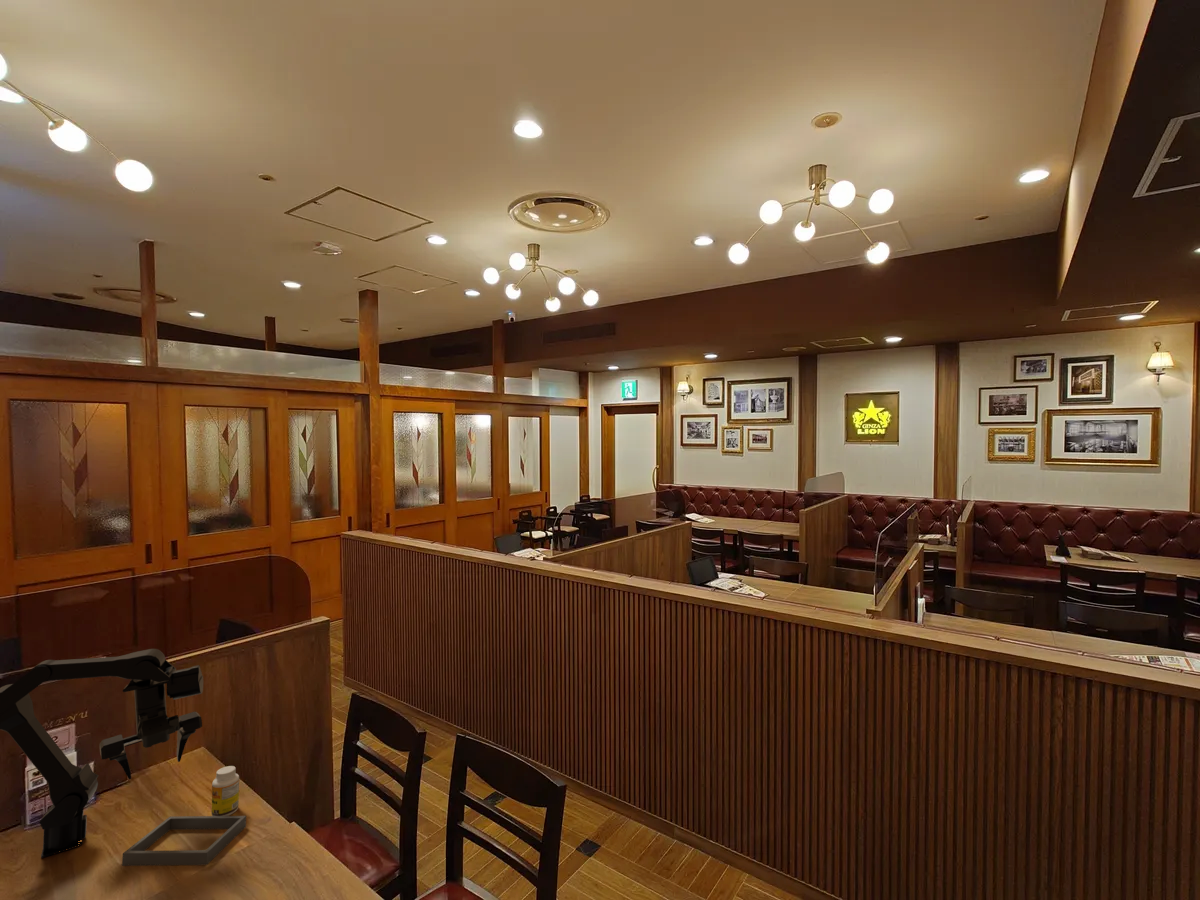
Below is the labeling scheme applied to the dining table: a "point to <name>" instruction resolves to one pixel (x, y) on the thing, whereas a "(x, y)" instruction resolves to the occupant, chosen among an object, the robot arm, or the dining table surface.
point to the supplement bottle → (225, 792)
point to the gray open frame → (184, 857)
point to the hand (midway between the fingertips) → (154, 769)
